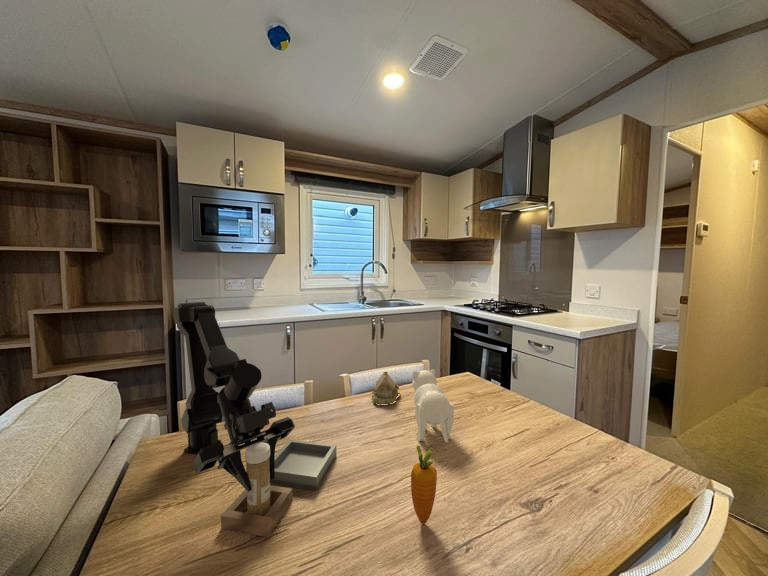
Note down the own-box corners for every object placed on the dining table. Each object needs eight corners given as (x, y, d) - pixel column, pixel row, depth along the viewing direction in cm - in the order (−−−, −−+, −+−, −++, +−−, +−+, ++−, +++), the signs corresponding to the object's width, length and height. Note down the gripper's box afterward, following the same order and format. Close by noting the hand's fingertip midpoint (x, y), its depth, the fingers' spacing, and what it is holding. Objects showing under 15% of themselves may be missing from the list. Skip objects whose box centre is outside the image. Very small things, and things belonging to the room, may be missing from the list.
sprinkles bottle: (273, 516, 63) (272, 449, 62) (249, 526, 60) (247, 457, 60) (267, 501, 67) (266, 439, 66) (244, 510, 64) (242, 445, 63)
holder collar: (221, 528, 60) (220, 515, 60) (251, 493, 69) (251, 482, 69) (267, 537, 58) (267, 524, 58) (292, 499, 67) (292, 488, 67)
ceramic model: (372, 390, 128) (372, 366, 127) (400, 391, 127) (400, 366, 126) (368, 406, 114) (369, 378, 113) (400, 407, 113) (401, 379, 112)
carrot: (408, 514, 64) (409, 441, 63) (432, 513, 64) (434, 440, 63) (412, 535, 59) (413, 456, 58) (439, 533, 59) (440, 455, 58)
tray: (262, 482, 73) (262, 469, 73) (289, 450, 85) (289, 439, 85) (316, 490, 70) (316, 477, 70) (336, 456, 83) (336, 444, 83)
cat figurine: (467, 456, 84) (468, 393, 82) (428, 460, 81) (429, 396, 80) (433, 413, 108) (434, 364, 107) (403, 416, 106) (403, 366, 105)
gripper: (196, 406, 58) (220, 495, 51) (290, 381, 71) (319, 448, 65) (185, 433, 64) (205, 516, 57) (273, 404, 77) (298, 469, 71)
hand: (261, 484), depth 62 cm, fingers closed on sprinkles bottle, 4 cm apart
